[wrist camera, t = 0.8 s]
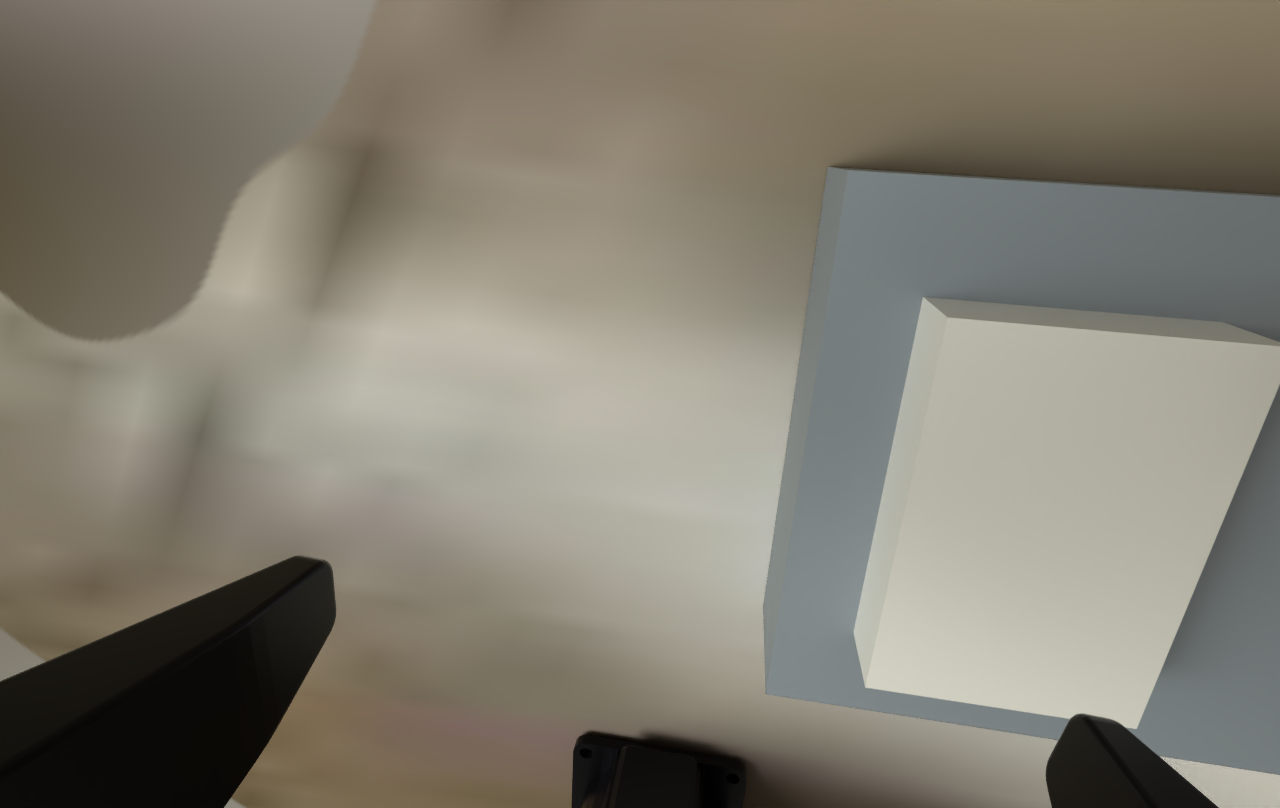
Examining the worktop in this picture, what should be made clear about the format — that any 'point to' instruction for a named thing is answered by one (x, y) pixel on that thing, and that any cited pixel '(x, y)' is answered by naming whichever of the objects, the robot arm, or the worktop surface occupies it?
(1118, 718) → the white rectangular block
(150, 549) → the worktop surface
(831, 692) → the light blue flat slab
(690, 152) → the worktop surface
